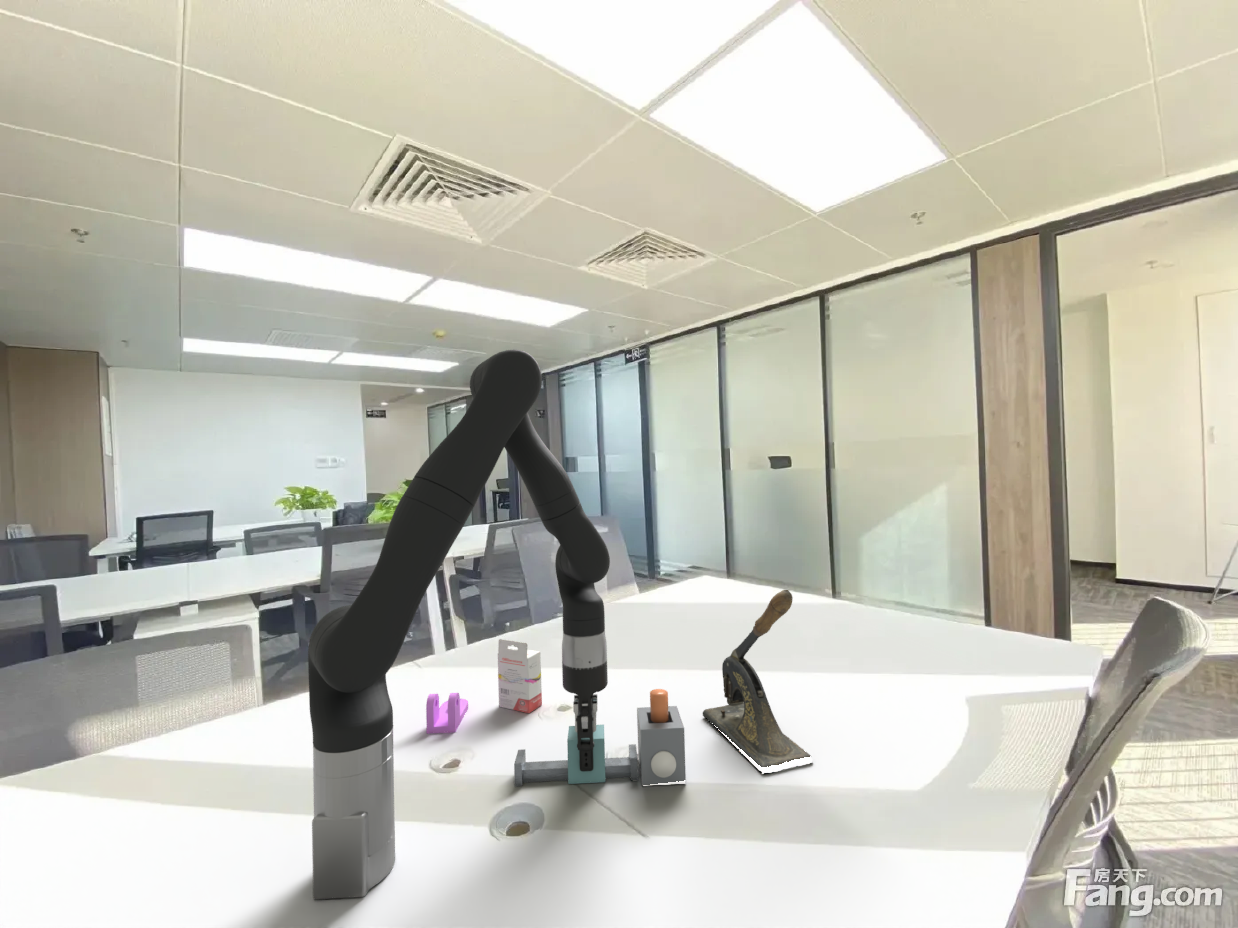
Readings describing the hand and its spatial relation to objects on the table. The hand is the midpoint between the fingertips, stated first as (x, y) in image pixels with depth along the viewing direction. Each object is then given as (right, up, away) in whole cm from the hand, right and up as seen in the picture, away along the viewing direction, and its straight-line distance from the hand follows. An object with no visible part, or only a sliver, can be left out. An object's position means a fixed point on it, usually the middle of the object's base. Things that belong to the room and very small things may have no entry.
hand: (587, 760), depth 88 cm
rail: (-2, -2, 0) cm, 3 cm away
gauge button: (+12, +7, +1) cm, 14 cm away
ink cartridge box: (-16, -4, +27) cm, 32 cm away
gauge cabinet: (+12, -2, 0) cm, 13 cm away
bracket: (-30, -4, +22) cm, 38 cm away
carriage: (0, -2, 0) cm, 2 cm away
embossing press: (+31, -2, +10) cm, 32 cm away
